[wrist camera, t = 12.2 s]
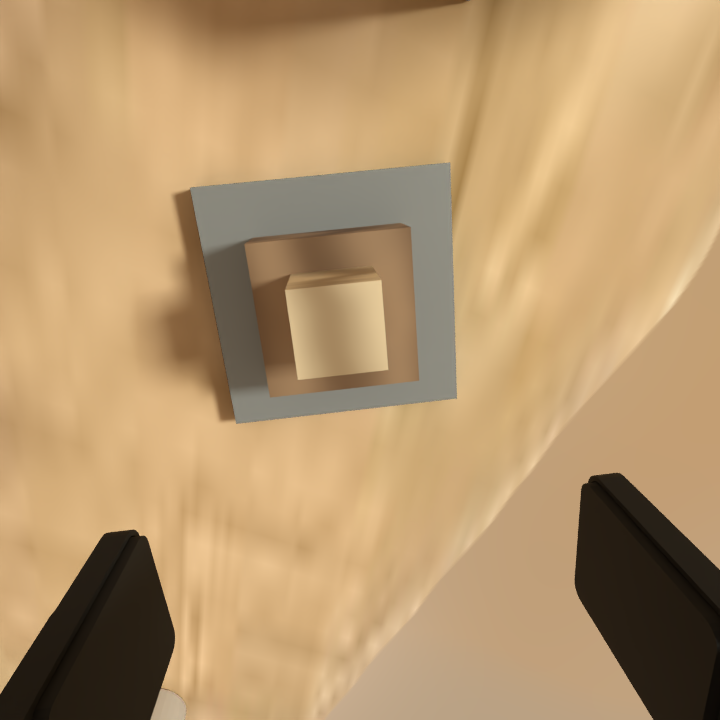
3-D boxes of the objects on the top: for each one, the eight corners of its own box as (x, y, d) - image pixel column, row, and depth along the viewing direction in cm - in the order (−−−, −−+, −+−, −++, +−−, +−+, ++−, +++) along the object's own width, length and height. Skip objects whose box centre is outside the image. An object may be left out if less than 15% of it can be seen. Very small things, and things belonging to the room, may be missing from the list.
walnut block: (400, 222, 33) (410, 227, 30) (409, 360, 37) (419, 380, 33) (253, 237, 33) (244, 244, 29) (275, 375, 36) (270, 397, 33)
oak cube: (372, 265, 30) (381, 280, 25) (378, 343, 32) (388, 369, 27) (290, 274, 30) (284, 290, 25) (301, 351, 32) (297, 380, 27)
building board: (444, 163, 34) (450, 162, 32) (452, 390, 39) (456, 398, 38) (195, 187, 33) (189, 187, 32) (239, 415, 39) (236, 423, 37)
